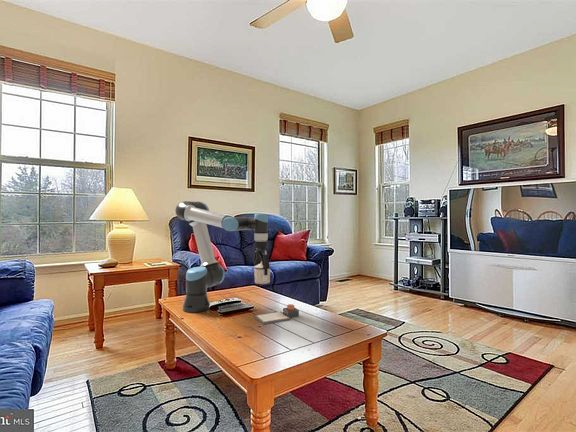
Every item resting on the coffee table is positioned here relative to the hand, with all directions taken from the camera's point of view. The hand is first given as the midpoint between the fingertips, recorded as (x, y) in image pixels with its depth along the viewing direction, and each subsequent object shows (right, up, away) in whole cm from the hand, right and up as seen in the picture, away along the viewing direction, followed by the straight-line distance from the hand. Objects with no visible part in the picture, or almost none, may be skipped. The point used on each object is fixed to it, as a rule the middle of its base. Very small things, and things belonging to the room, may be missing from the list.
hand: (260, 278), depth 183 cm
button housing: (+17, -18, -8) cm, 26 cm away
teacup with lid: (0, -2, 0) cm, 2 cm away
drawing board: (+7, -18, -13) cm, 24 cm away
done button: (+17, -16, -8) cm, 25 cm away
